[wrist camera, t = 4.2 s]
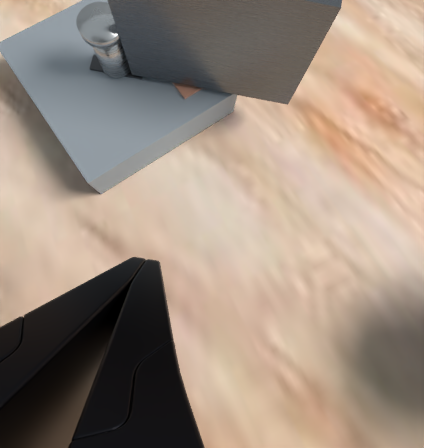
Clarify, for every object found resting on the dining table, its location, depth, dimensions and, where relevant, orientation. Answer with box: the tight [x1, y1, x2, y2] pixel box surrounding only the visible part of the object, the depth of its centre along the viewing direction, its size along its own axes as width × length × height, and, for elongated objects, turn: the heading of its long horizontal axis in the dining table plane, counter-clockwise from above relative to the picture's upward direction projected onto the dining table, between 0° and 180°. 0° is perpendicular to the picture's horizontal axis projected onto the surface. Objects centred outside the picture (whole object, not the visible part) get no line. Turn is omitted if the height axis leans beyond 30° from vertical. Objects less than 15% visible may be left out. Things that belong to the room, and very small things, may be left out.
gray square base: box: [0, 0, 237, 194], centre depth 20 cm, size 12×12×3 cm
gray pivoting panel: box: [76, 0, 342, 104], centre depth 15 cm, size 13×3×7 cm, turn 80°
